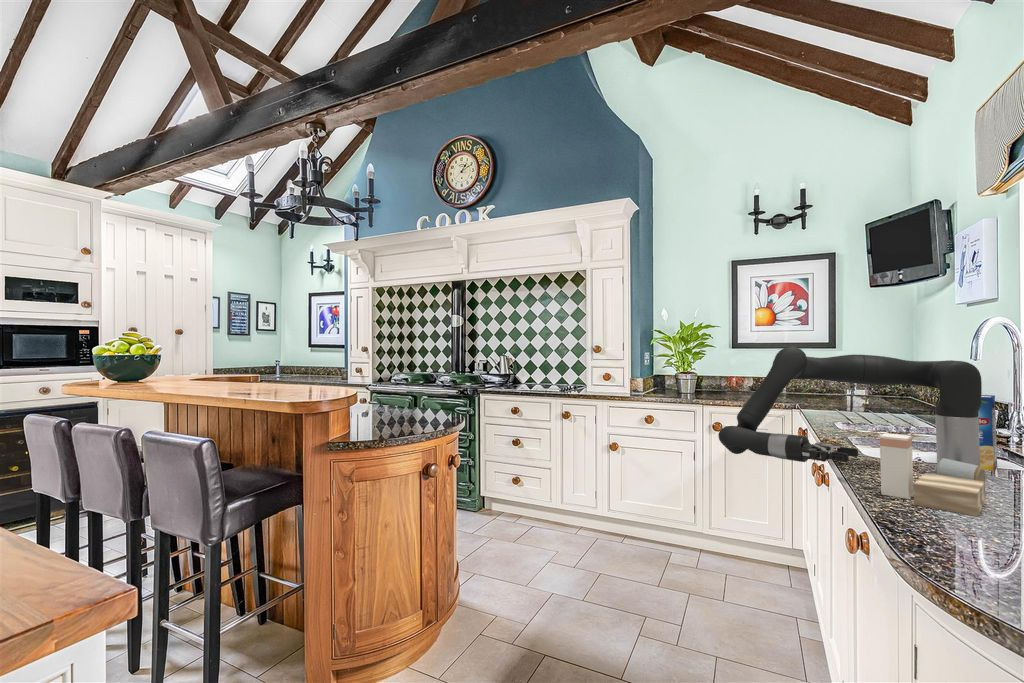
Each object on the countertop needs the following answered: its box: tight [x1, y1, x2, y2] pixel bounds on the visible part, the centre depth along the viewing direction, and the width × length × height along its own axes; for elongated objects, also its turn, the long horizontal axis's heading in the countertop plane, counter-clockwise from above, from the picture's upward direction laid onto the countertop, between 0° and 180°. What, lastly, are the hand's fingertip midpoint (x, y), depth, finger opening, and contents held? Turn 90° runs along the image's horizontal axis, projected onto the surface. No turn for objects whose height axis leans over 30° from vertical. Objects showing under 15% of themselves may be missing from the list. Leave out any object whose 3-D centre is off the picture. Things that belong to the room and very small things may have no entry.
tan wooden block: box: [913, 472, 987, 517], centre depth 114 cm, size 14×11×5 cm
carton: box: [878, 432, 914, 500], centre depth 122 cm, size 6×6×15 cm
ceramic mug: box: [936, 458, 986, 482], centre depth 125 cm, size 11×8×8 cm
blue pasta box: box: [978, 394, 998, 472], centre depth 148 cm, size 7×11×22 cm, turn 39°
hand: (853, 455), depth 129 cm, fingers open, 8 cm apart
